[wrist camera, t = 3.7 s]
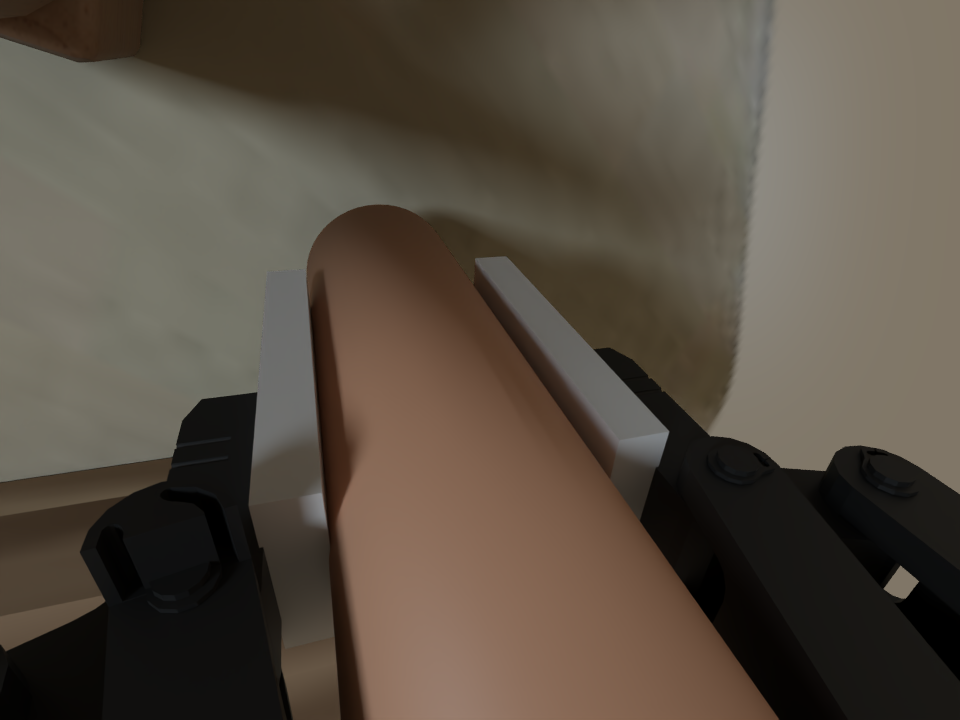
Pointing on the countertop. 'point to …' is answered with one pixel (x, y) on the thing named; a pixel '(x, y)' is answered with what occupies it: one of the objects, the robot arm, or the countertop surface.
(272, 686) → the robot arm
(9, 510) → the socket block
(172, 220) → the countertop surface
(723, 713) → the pin
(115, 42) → the wooden block structure
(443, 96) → the countertop surface
